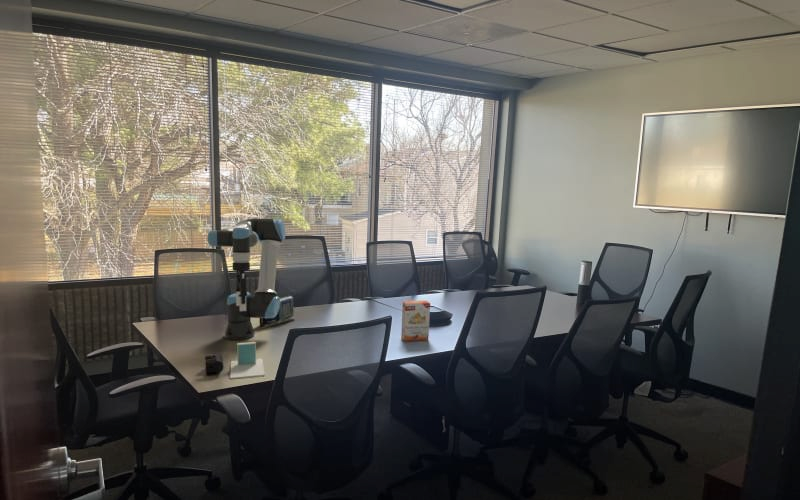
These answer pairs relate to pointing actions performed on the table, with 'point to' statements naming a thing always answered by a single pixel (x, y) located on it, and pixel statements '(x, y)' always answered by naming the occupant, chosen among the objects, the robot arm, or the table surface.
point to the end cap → (213, 364)
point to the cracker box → (415, 320)
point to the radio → (280, 313)
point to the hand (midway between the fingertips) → (241, 308)
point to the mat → (247, 370)
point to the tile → (246, 353)
